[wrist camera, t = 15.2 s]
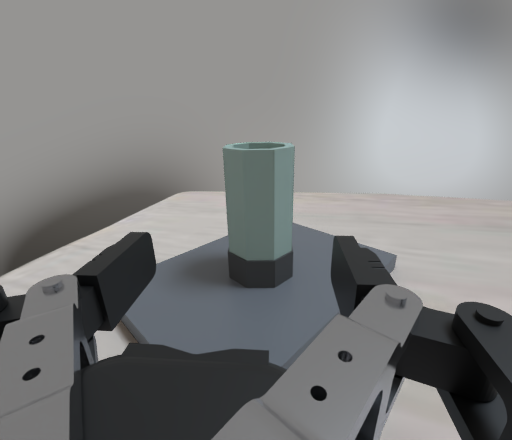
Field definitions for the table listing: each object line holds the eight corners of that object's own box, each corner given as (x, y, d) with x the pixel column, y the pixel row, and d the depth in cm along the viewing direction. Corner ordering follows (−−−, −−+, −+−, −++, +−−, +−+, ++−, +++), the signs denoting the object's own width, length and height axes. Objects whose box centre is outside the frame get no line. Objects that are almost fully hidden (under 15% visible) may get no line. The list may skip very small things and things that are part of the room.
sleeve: (260, 250, 29) (258, 140, 25) (303, 269, 25) (309, 144, 21) (218, 270, 25) (207, 146, 21) (261, 296, 21) (258, 152, 17)
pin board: (274, 227, 38) (274, 185, 36) (394, 268, 27) (404, 213, 25) (105, 300, 24) (89, 238, 22) (221, 447, 13) (211, 354, 11)
